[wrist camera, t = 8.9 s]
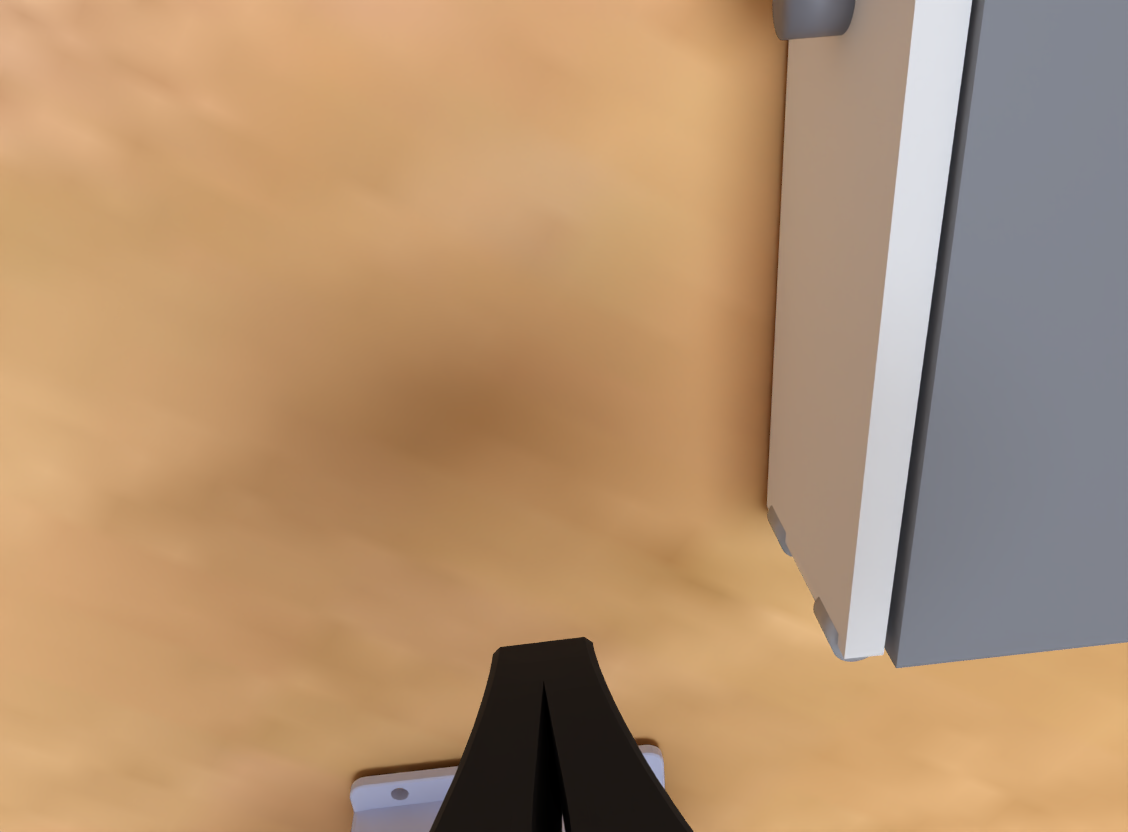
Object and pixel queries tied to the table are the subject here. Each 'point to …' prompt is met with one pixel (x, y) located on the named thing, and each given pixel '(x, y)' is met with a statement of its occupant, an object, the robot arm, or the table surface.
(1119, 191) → the cabinet
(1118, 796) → the table surface
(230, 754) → the table surface
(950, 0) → the door
